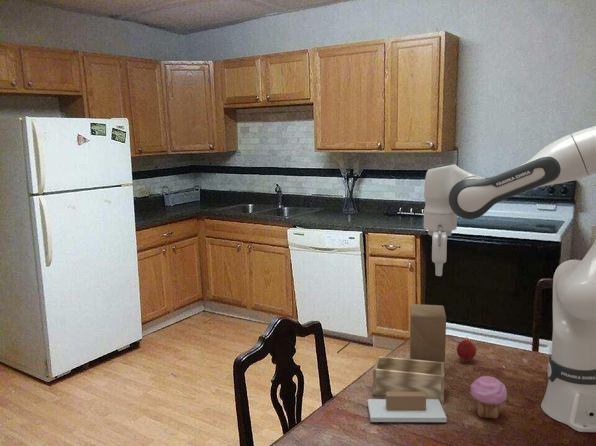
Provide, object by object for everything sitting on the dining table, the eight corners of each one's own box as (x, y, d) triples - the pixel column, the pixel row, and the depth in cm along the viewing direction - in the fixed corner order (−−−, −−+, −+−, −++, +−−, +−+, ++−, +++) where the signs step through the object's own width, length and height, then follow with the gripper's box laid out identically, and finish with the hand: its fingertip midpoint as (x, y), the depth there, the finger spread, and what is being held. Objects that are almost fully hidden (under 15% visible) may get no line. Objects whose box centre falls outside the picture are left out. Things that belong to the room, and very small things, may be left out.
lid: (438, 406, 137) (438, 385, 136) (446, 425, 128) (447, 403, 127) (367, 406, 138) (367, 385, 137) (370, 425, 129) (370, 403, 128)
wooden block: (444, 380, 150) (446, 316, 147) (410, 378, 152) (410, 314, 149) (442, 365, 160) (443, 304, 157) (409, 363, 162) (410, 303, 159)
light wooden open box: (443, 388, 146) (444, 362, 144) (443, 404, 137) (444, 376, 136) (377, 381, 151) (377, 356, 150) (373, 396, 142) (373, 369, 141)
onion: (478, 365, 160) (479, 341, 158) (459, 365, 160) (460, 341, 158) (472, 357, 165) (473, 334, 164) (454, 357, 165) (455, 334, 164)
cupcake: (470, 421, 129) (471, 384, 127) (468, 403, 137) (469, 369, 136) (508, 425, 127) (509, 388, 125) (503, 407, 135) (505, 372, 133)
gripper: (452, 229, 130) (451, 281, 132) (451, 216, 149) (450, 262, 152) (427, 229, 132) (426, 280, 134) (429, 216, 151) (428, 261, 153)
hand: (438, 270), depth 143 cm, fingers open, 8 cm apart
